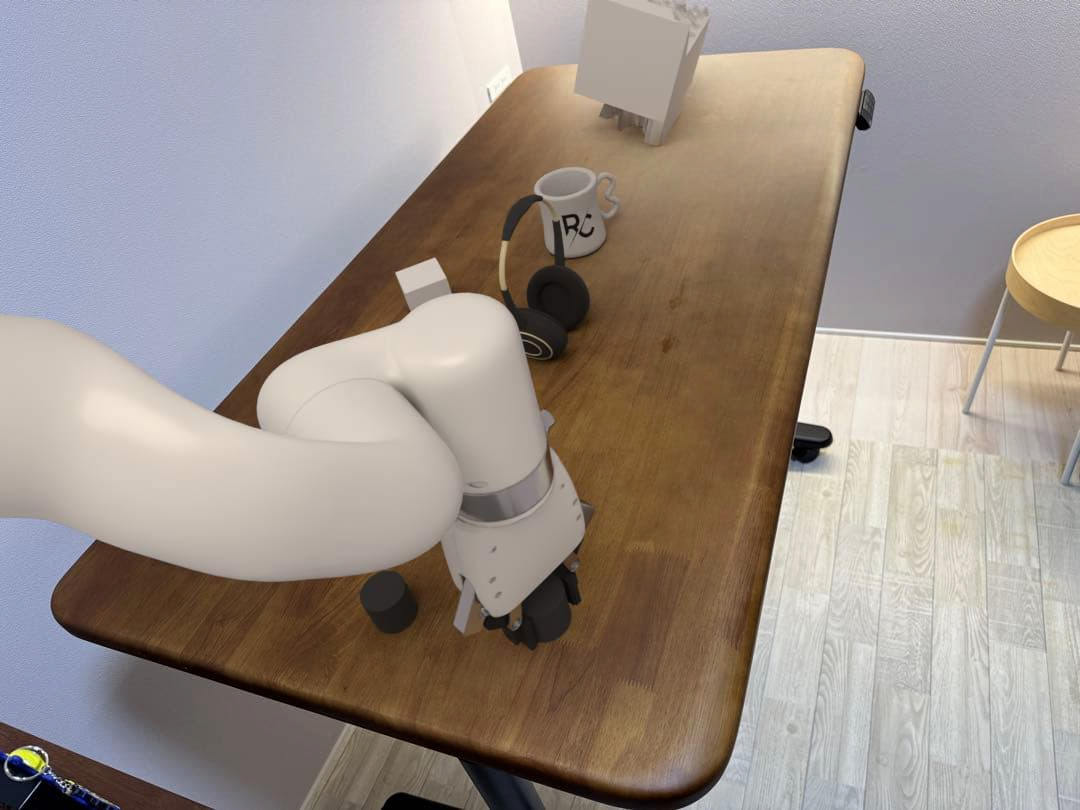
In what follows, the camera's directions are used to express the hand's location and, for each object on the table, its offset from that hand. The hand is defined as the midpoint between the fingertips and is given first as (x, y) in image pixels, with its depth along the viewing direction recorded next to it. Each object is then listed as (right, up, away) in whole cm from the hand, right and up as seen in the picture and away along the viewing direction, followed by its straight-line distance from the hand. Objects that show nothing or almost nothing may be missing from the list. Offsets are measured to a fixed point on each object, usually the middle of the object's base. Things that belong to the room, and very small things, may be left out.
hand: (544, 615), depth 63 cm
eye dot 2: (0, 0, 0) cm, 1 cm away
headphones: (+1, +25, +37) cm, 45 cm away
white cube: (-15, +31, +47) cm, 58 cm away
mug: (+7, +42, +53) cm, 67 cm away
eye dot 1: (-14, -3, +12) cm, 19 cm away
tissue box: (+19, +66, +74) cm, 101 cm away
